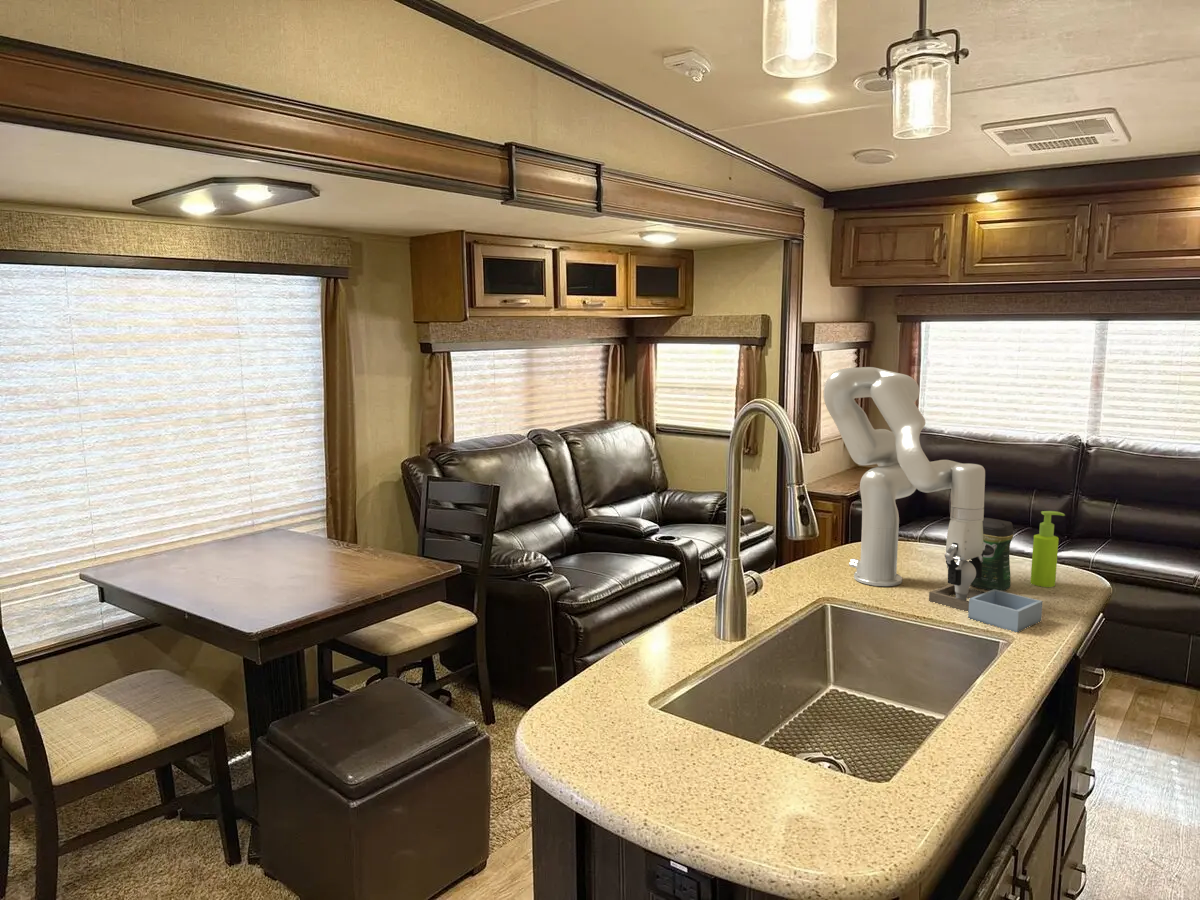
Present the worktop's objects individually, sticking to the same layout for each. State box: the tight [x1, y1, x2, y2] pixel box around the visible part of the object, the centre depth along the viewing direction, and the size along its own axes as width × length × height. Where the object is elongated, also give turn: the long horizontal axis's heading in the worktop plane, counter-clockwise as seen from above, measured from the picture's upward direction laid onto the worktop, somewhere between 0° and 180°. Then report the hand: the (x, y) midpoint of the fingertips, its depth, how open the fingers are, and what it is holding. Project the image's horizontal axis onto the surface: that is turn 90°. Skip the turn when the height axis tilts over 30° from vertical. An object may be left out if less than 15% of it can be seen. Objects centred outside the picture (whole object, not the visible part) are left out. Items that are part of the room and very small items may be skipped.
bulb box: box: [967, 589, 1044, 633], centre depth 193 cm, size 12×12×5 cm
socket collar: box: [928, 584, 986, 612], centre depth 206 cm, size 11×11×2 cm
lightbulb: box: [954, 560, 976, 601], centre depth 205 cm, size 6×6×11 cm
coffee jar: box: [970, 517, 1014, 592], centre depth 217 cm, size 10×8×19 cm
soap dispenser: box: [1029, 510, 1066, 588], centre depth 219 cm, size 6×7×20 cm
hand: (964, 580), depth 205 cm, fingers open, 9 cm apart
